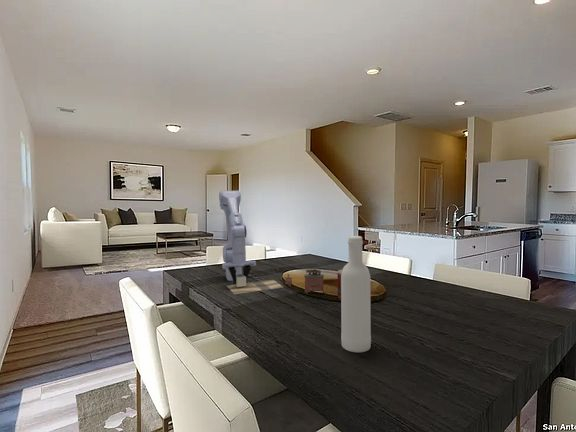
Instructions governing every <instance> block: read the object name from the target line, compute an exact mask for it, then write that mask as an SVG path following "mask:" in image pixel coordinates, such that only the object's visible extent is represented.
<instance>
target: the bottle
mask: <svg viewBox="0 0 576 432" xmlns="http://www.w3.org/2000/svg"><path fill="white" fill-rule="evenodd" d="M347 243H348V262H347V263H346V264H345V265H344V266H343V268H342V269H343V270H342V274H341V300H340V301H341V304H340V307H341V311H340V312H341V315H340V316H341V323H340V324H341V329H340V330H341V335H340V336H341V337H340V339H341V340H340V342H341V346H342V348H343V349H344V350H346V351H348V352H351V353H365V352H367V351H369V350H370V349H371V344H372V335H371V334H372V333H371V328H372V327H371V323H372V321H371V318H372V316H371V274H370V270H369V268H368V266H367V265H365V264H364V263H363V243H364V241H363V237H362V236H361V235H350V236H348V241H347Z"/></svg>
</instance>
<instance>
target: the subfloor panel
mask: <svg viewBox="0 0 576 432" xmlns="http://www.w3.org/2000/svg"><path fill="white" fill-rule="evenodd" d="M226 287H227V288H228V290H230V291H231V293H233V295H239V294H245V293H246V294H247V293H253V292H259V291H267V290H268V291H269V290H274V289H283V288H284V285H282V284H280V283H279V282H278V281H276V280H274V279H269V280H268V279H267V280H261V281H253V282H252V281H251V282H247V283H246V286H241V287H237V286H236V285H235V284H229V285H226Z"/></svg>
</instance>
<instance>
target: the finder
mask: <svg viewBox="0 0 576 432" xmlns="http://www.w3.org/2000/svg"><path fill="white" fill-rule="evenodd" d="M234 285H236V286H237V287H241V286H246V276H245V275H244V273H242V274H236V284H234Z"/></svg>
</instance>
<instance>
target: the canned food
mask: <svg viewBox="0 0 576 432" xmlns="http://www.w3.org/2000/svg"><path fill="white" fill-rule="evenodd" d="M342 270H343V268H342V269H339V270H337V273H336V274H337V275H336V276H337V279H336V280H337V298H338V300H339V301H341V274H342Z"/></svg>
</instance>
